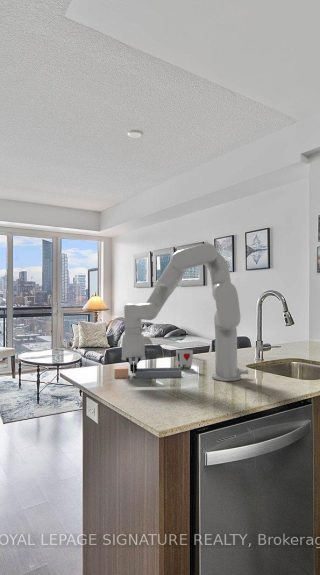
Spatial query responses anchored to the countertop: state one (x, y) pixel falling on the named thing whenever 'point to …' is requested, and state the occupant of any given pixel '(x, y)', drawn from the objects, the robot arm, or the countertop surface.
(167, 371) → the grey railed tray
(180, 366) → the cup
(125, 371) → the block
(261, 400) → the countertop surface
